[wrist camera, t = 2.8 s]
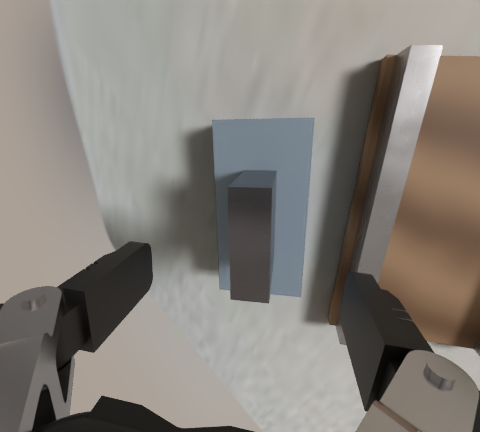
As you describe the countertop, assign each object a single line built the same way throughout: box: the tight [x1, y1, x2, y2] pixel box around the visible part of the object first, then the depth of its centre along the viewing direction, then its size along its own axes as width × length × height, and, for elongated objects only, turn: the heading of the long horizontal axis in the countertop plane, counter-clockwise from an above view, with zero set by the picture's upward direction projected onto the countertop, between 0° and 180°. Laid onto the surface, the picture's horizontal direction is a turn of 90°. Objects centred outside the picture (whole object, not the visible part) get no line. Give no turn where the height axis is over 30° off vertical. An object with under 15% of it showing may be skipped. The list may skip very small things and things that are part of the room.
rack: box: [328, 45, 480, 356], centre depth 17 cm, size 20×13×3 cm, turn 177°
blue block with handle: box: [212, 118, 314, 303], centre depth 17 cm, size 12×6×9 cm, turn 2°
